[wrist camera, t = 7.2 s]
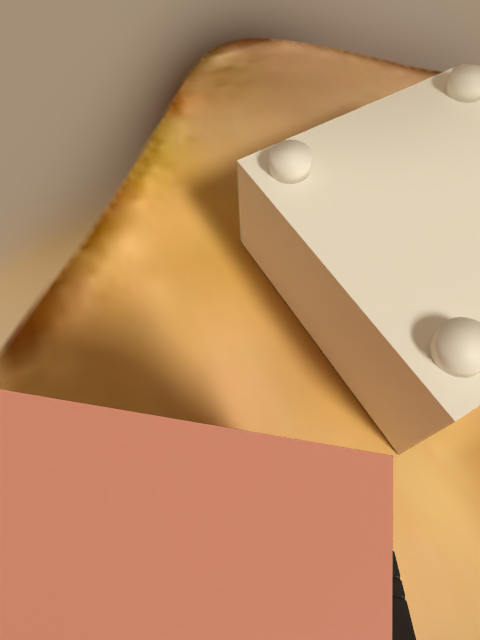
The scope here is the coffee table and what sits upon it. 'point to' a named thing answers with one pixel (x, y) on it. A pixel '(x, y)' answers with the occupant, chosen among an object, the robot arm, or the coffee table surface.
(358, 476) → the tall block
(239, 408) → the coffee table surface
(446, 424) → the base brick
